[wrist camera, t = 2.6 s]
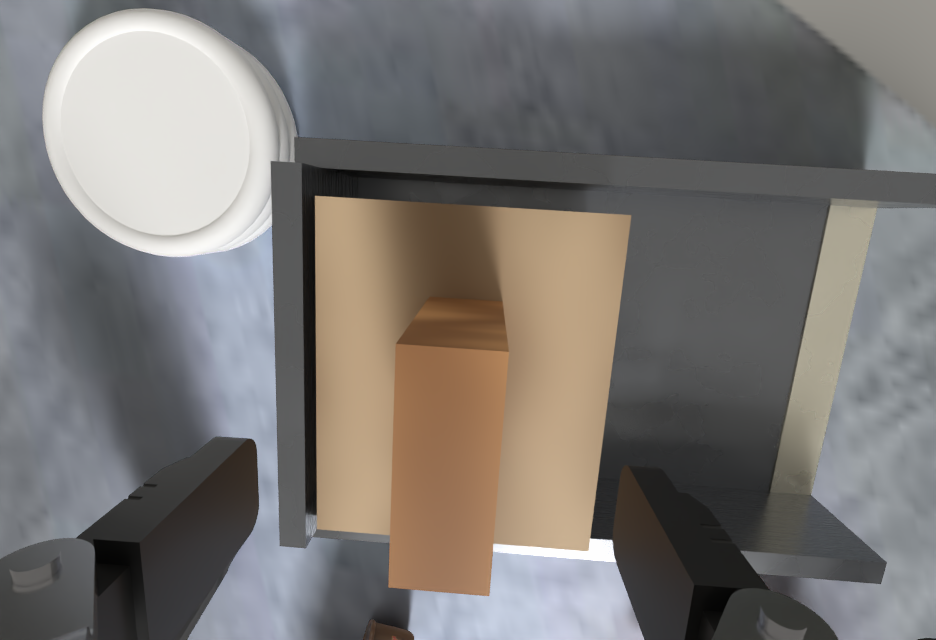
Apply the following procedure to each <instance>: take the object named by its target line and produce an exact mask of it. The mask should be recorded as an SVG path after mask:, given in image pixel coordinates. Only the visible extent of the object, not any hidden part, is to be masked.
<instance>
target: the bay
mask: <svg viewBox="0 0 936 640" xmlns="http://www.w3.org/2000/svg"><path fill="white" fill-rule="evenodd" d="M294 156H295V162H280V161H271V200H272V241H273V283H274V324H275V366H276V407H277V449H278V490H279V531H280V546H285V547H297V548H306V547H307V545H308V543H309V542H310V540H311V538H312V537H320V538H332V539H344V540H356V541H368V542H380V543H390V535H381V534H369V533H357V532H345V531H333V530H321V529H317V446H316V275H315V196H326V197H343V198H359V199H375V200H392V201H408V202H424V203H441V204H457V205H473V206H490V207H506V208H522V209H539V210H555V211H571V212H588V213H604V214H620V215H631V223H630V230H629V238H628V246H627V254H626V262H625V270H624V277H623V285H622V293H621V301H620V309H619V317H618V324H617V332H616V340H615V348H614V356H613V363H612V371H611V379H610V387H609V395H608V403H607V410H606V418H605V426H604V434H603V442H602V450H601V457H600V465H599V473H598V481H597V489H596V497H595V504H594V512H593V520H592V528H591V536H590V543H589V551H575V550H563V549H551V548H539V547H527V546H515V545H503V544H493V552H501V553H513V554H525V555H537V556H549V557H561V558H573V559H585V560H597V561H610V562H616V560H615V556H614V550H613V527H614V519H615V512H616V504H617V497H618V489H619V482H620V475H621V471H622V468H623V467H624V466H625V465H632V466H646V467H660V468H662V469H663V470H664V472H665V473H666V475H667V476H668V478H669V479H670V481H671V482H672V484H673V485H674V487H675V488H676V490H677V491H678V492H681V493H688V494H690V495H691V496H692V497H694V498H695V499H697V500H698V501H699V502H701V503H702V504H703V505H705V506H706V507H708V508H709V510H710V511H711V512H712V514H713V515H714V516H715V518H716V519H717V520H718V522H719V523H720V524H721V528H722V529H724V530H725V531H726V532H727V534H728V535H729V536H730V538H731V539H732V543H733V544H736V546H737V547H738V548H739V550H740V551H741V553H742V554H743V555H744V557H745V558H746V559H747V561H748V562H749V563H750V565H751V566H752V567H753V569H754V570H755V571H756V573H757V574H766V575H778V576H790V577H803V578H815V579H827V580H839V581H851V582H863V583H875V584H881V582H882V578H883V575H884V571H885V567H886V564H887V562H886V561H884V560H883V559H882V558H881V557H880V556H879V555H878V554H876V553H875V552H874V551H873V550H872V549H871V548H870V547H869V546H867V545H866V544H865V543H864V542H863V541H862V540H861V539H860V538H858V537H857V536H856V535H855V534H854V533H853V532H852V531H851V530H849V529H848V528H847V527H846V526H845V525H844V524H843V523H842V522H840V521H839V520H838V519H837V518H836V517H835V516H834V515H833V514H831V513H830V512H829V511H828V510H827V509H826V508H825V507H824V506H822V505H821V504H820V503H819V502H818V501H817V500H816V499H815V498H813V497H812V496H811V493H812V488H813V484H814V480H815V475H816V471H817V467H818V462H819V458H820V454H821V449H822V445H823V441H824V436H825V432H826V428H827V423H828V419H829V415H830V410H831V406H832V402H833V397H834V393H835V389H836V384H837V380H838V376H839V371H840V367H841V363H842V358H843V354H844V350H845V345H846V341H847V337H848V332H849V328H850V324H851V319H852V315H853V311H854V306H855V302H856V298H857V293H858V289H859V285H860V280H861V276H862V272H863V267H864V263H865V259H866V254H867V250H868V246H869V241H870V237H871V233H872V228H873V224H874V220H875V215H876V211H877V208H936V174H929V173H912V172H895V171H877V170H860V169H843V168H825V167H808V166H790V165H773V164H756V163H738V162H721V161H703V160H686V159H669V158H651V157H634V156H616V155H599V154H582V153H564V152H547V151H529V150H512V149H495V148H477V147H460V146H443V145H425V144H408V143H390V142H373V141H356V140H338V139H321V138H303V137H294Z"/></svg>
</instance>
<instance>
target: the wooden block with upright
mask: <svg viewBox="0 0 936 640" xmlns="http://www.w3.org/2000/svg"><path fill="white" fill-rule="evenodd" d="M630 223H631V215H620V214H604V213H588V212H571V211H555V210H539V209H522V208H506V207H490V206H473V205H457V204H441V203H424V202H408V201H392V200H375V199H359V198H343V197H326V196H315V275H316V446H317V529H321V530H333V531H345V532H357V533H369V534H381V535H390V549H389V583H388V587H389V588H400V589H412V590H424V591H435V592H447V593H459V594H470V595H482V596H489V593H490V580H491V568H492V556H493V544H503V545H515V546H527V547H539V548H551V549H563V550H575V551H589V543H590V536H591V528H592V520H593V512H594V504H595V497H596V489H597V481H598V473H599V465H600V457H601V450H602V442H603V434H604V426H605V418H606V410H607V403H608V395H609V387H610V379H611V371H612V363H613V356H614V348H615V340H616V332H617V324H618V317H619V309H620V301H621V293H622V285H623V277H624V270H625V262H626V254H627V246H628V238H629V230H630Z"/></svg>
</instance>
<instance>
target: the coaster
mask: <svg viewBox="0 0 936 640" xmlns="http://www.w3.org/2000/svg"><path fill="white" fill-rule="evenodd" d="M42 119H43V132H44V138H45V144H46V149H47V152H48V156H49V159H50V162H51V165H52V168H53V170H54V172H55V175H56V177H57V179H58V181H59V183H60V185H61V186H62V188H63V190H64V192H65V193H66V195H67V196H68V197H69V199H70V200H71V202H72V203H73V205H74V206H75V207H76V208H77V209H78V210H79V211H80V213H81V214H82V215H83V216H84V217H85V218H86V219H87V220H88V221H89V222H90V223H92V224H93V225H94V226H95V227H96V228H97V229H99V230H100V231H102V232H103V233H104V234H106V235H107V236H109V237H110V238H112V239H114V240H116V241H118V242H120V243H121V244H123V245H126V246H128V247H131V248H133V249H136V250H139V251H142V252H146V253H150V254H154V255H158V256H168V257H189V256H195V255H202V254H208V253H215V252H222V251H228V250H231V249H234V248H237V247H240V246H242V245H244V244H246V243H248V242H250V241H252V240H254V239H255V238H257V237H258V236H260V235H261V234H263V233H264V232H265V231H266V230H267V229H268V228H269V227H270V226H271V225H272V200H271V161H280V162H295V156H294V137H298V135H297V130H296V125H295V121H294V118H293V115H292V112H291V109H290V107H289V105H288V102H287V100H286V98H285V96H284V94H283V92H282V90H281V89H280V87H279V85H278V84H277V82H276V80H275V79H274V78H273V77H272V75H271V74H270V73H269V72H268V70H267V69H266V68H265V67H264V66H263V65H262V64H261V63H260V62H259V61H258V60H257V59H256V58H255V57H254V56H253V55H251V54H250V53H249V52H247V51H246V50H245V49H243V48H242V47H240V46H238V45H237V44H235V43H234V42H232V41H231V40H230V39H228V38H226V37H225V36H223V35H221V34H220V33H219V32H217V31H216V30H214V29H213V28H211V27H209V26H207V25H206V24H204V23H202V22H201V21H198V20H196V19H193V18H191V17H189V16H186V15H184V14H180V13H176V12H172V11H168V10H159V9H149V8H140V9H127V10H122V11H117V12H113V13H111V14H108V15H105V16H103V17H100V18H98V19H96V20H95V21H93V22H91V23H90V24H88V25H86V26H85V27H84V28H82V29H81V30H80V31H79V32H78V33H76V34H75V35H74V36H73V37H72V38H71V39H70V41H69V42H68V43H67V44H66V45H65V46H64V47H63V49H62V51H61V52H60V54H59V55H58V57H57V59H56V60H55V63H54V65H53V67H52V69H51V71H50V74H49V77H48V81H47V84H46V87H45V93H44V99H43V116H42Z"/></svg>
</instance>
